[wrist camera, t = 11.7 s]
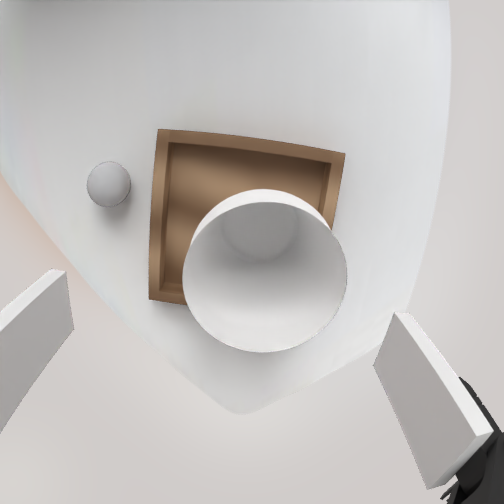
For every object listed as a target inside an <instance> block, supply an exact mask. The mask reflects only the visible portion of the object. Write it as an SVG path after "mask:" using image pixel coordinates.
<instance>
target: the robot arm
mask: <svg viewBox="0 0 504 504" xmlns="http://www.w3.org/2000/svg"><path fill="white" fill-rule="evenodd" d="M73 330H74V325H73V319H72V313H71V307H70V300H69V293H68V286H67V277H66V271H61V270H56V269H50V270H49V271H48V272H46V273H45V274H44V275H43V276H41V277H40V278H39V279H38V280H37V281H35V282H34V283H33V284H32V285H30V286H29V287H28V288H27V289H26V290H24V291H23V292H22V293H21V294H20V295H19V296H17V297H16V298H15V299H14V300H13V301H11V302H10V303H9V304H8V305H7V306H6V307H5V308H3V309H2V310H1V311H0V433H1V431H2V430H3V428H4V427H5V425H6V424H7V422H8V420H9V419H10V417H11V416H12V414H13V413H14V411H15V410H16V408H17V407H18V405H19V404H20V402H21V401H22V399H23V398H24V396H25V395H26V393H27V392H28V390H29V389H30V387H31V386H32V385H33V383H34V382H35V381H36V379H37V378H38V376H39V375H40V374H41V372H42V371H43V369H44V368H45V367H46V365H47V364H48V362H49V361H50V360H51V358H52V357H53V356H54V355H55V353H56V352H57V351H58V349H59V348H60V347H61V345H62V344H63V343H64V341H65V340H66V339H67V337H68V336H69V335H70V334H71V332H72V331H73ZM373 366H374V368H375V370H376V373H377V375H378V377H379V379H380V381H381V383H382V385H383V388H384V390H385V392H386V394H387V396H388V398H389V401H390V403H391V405H392V407H393V409H394V412H395V414H396V416H397V418H398V421H399V423H400V425H401V428H402V430H403V432H404V435H405V437H406V439H407V442H408V444H409V446H410V449H411V451H412V453H413V456H414V458H415V461H416V463H417V466H418V468H419V471H420V473H421V476H422V478H423V481H424V483H425V486H426V488H427V490H428V489H431V488H435V487H438V486H441V485H445V484H446V483H447V482H448V481H449V480H450V479H451V478H452V477H453V476H454V475H455V474H456V477H457V479H458V481H457V482H456V483H455V484H454V485H453V486H452V487H450V488H449V489H448V490H447V491H446V492H445V493H444V494H443V495H442V497H441V498H440V499H442V500H443V499H444V498H445V497H446V496H447V495H449V494H450V493H451V494H450V497H449V499H447V502H448V503H447V504H504V432H503V433H502V432H501V430H500V429H499V427H498V426H497V424H496V423H495V421H494V419H493V418H492V417H491V415H490V413H489V412H488V410H487V409H486V408H485V406H484V405H482V402H481V400H480V399H479V397H477V394H476V393H475V392H474V390H473V389H472V387H471V386H470V385H469V384H468V383H467V382H466V381H464V380H463V379H462V378H461V377H457V375H456V374H455V372H454V371H453V370H452V368H451V367H450V365H449V364H448V363H447V361H446V360H445V359H444V357H443V356H442V355H441V354H440V352H439V351H438V349H437V348H436V347H435V345H434V344H433V343H432V341H431V340H430V339H429V337H428V336H427V335H426V333H425V332H424V331H423V330H422V328H421V327H420V326H419V324H418V323H417V322H416V321H415V319H414V318H413V317H412V316H411V314H410V313H398V312H394V315H393V317H392V320H391V323H390V325H389V328H388V331H387V333H386V336H385V338H384V341H383V343H382V346H381V348H380V350H379V353H378V356H377V358H376V360H375V362H374V365H373Z"/></svg>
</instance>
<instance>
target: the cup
mask: <svg viewBox="0 0 504 504" xmlns="http://www.w3.org/2000/svg"><path fill="white" fill-rule="evenodd" d="M182 282H183V291H184V295H185V299H186V302H187V305H188V307H189V309H190V311H191V313H192V314H193V316H194V318H195V319H196V320H197V322H198V323H199V324H200V325H201V326H202V327H203V329H204V330H206V331H207V332H208V333H209V334H210V335H212V336H213V337H214V338H216V339H217V340H219V341H221V342H222V343H224V344H227V345H229V346H231V347H234V348H237V349H240V350H245V351H250V352H276V351H282V350H286V349H289V348H293V347H295V346H298V345H300V344H302V343H304V342H306V341H308V340H309V339H311V338H313V337H314V336H315V335H317V334H318V333H319V332H320V331H322V330H323V329H324V328H325V327H326V326H327V325H328V324H329V322H330V321H331V320H332V319H333V317H334V316H335V314H336V313H337V311H338V309H339V307H340V305H341V303H342V300H343V298H344V294H345V290H346V285H347V267H346V261H345V257H344V254H343V251H342V248H341V246H340V244H339V242H338V240H337V239H336V237H335V236H334V234H333V233H332V231H331V230H330V228H329V226H328V224H327V223H326V221H325V220H324V218H323V217H322V216H321V215H320V213H319V212H318V211H317V210H316V209H315V208H313V207H312V206H311V205H310V204H308V203H307V202H305V201H303V200H302V199H300V198H298V197H296V196H294V195H292V194H289V193H286V192H282V191H278V190H271V189H255V190H249V191H245V192H241V193H238V194H236V195H233V196H231V197H229V198H227V199H225V200H224V201H222V202H220V203H219V204H218V205H216V206H215V207H214V208H213V209H212V210H211V211H210V212H209V213H208V214H207V215H206V216H205V217H204V218H203V220H202V221H201V222H200V224H199V225H198V227H197V229H196V231H195V233H194V235H193V238H192V241H191V244H190V247H189V250H188V252H187V255H186V258H185V262H184V267H183V275H182Z"/></svg>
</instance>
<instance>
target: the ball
mask: <svg viewBox="0 0 504 504" xmlns="http://www.w3.org/2000/svg"><path fill="white" fill-rule="evenodd" d="M129 189H130V177H129V174H128V172H127V171H126V169H125V168H124V167H123V166H122V165H120V164H118V163H115V162H104V163H101V164H99V165H98V166H96V167H95V168H94V169H93V170H92V171H91V173H90V175H89V177H88V181H87V190H88V193H89V196H90V197H91V199H92V200H93V201H94V202H95V203H96V204H98V205H100V206H104V207H112V206H115V205H117V204H119V203H121V202H122V201H123V200H124V199H125V198H126V196H127V194H128V192H129Z"/></svg>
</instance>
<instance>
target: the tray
mask: <svg viewBox="0 0 504 504" xmlns="http://www.w3.org/2000/svg"><path fill="white" fill-rule="evenodd" d="M344 160H345V153H340V152H335V151H330V150H325V149H320V148H315V147H309V146H303V145H298V144H292V143H286V142H279V141H273V140H266V139H259V138H251V137H243V136H235V135H226V134H217V133H207V132H195V131H183V130H168V129H158V134H157V142H156V152H155V162H154V173H153V186H152V200H151V217H150V240H149V299H150V300H156V301H162V302H169V303H175V304H182V305H187V302H186V299H185V295H184V291H183V282H182V275H183V267H184V262H185V258H186V255H187V252H188V250H189V247H190V244H191V241H192V238H193V235H194V233H195V231H196V229H197V227H198V225H199V224H200V222H201V221H202V220H203V218H204V217H205V216H206V215H207V214H208V213H209V212H210V211H211V210H212V209H213V208H214V207H215V206H216V205H218V204H219V203H220V202H222V201H224V200H225V199H227V198H229V197H231V196H233V195H236V194H238V193H241V192H245V191H249V190H255V189H271V190H278V191H282V192H286V193H289V194H292V195H294V196H296V197H298V198H300V199H302V200H303V201H305V202H307V203H308V204H310V205H311V206H312V207H313V208H315V209H316V210H317V211H318V212H319V213H320V215H321V216H322V217H323V218H324V220H325V221H326V223H327V224H328V226H329V228H330V230H332V226H333V221H334V216H335V210H336V205H337V200H338V195H339V189H340V184H341V178H342V172H343V166H344Z"/></svg>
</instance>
